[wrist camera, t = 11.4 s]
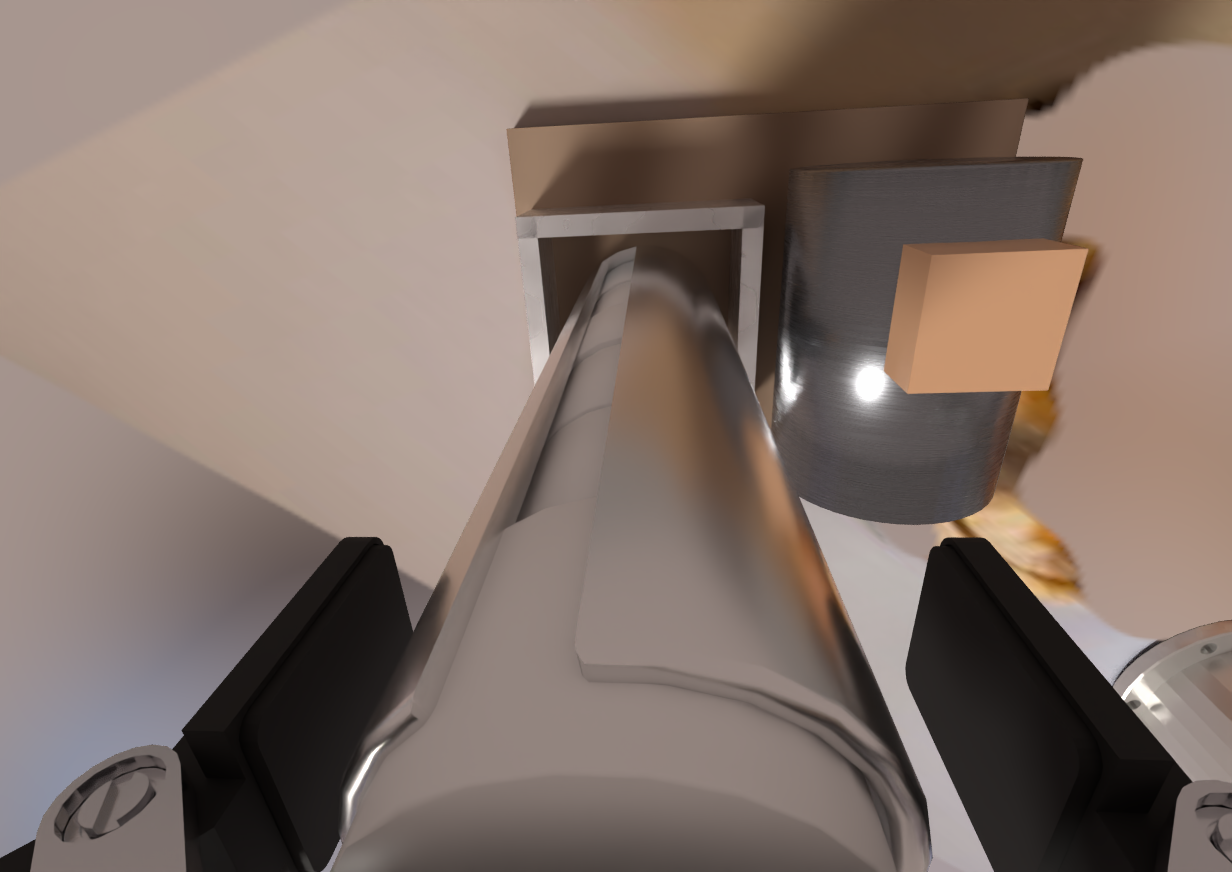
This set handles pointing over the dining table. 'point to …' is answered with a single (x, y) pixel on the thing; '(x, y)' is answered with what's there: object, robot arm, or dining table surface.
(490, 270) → the dining table surface
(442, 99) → the dining table surface
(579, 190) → the motor mount
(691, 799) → the silver tall cylinder
